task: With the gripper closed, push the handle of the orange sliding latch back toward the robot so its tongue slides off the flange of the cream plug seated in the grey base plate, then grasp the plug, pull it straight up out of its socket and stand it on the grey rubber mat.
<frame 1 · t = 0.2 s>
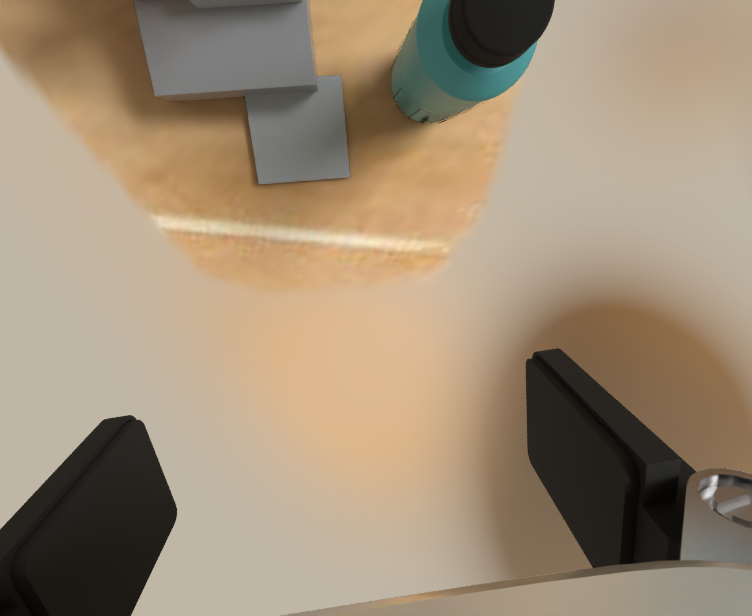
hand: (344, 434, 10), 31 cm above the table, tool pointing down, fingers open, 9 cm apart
beverage bottle: (425, 84, 36), on the table
mat: (299, 131, 36), on the table
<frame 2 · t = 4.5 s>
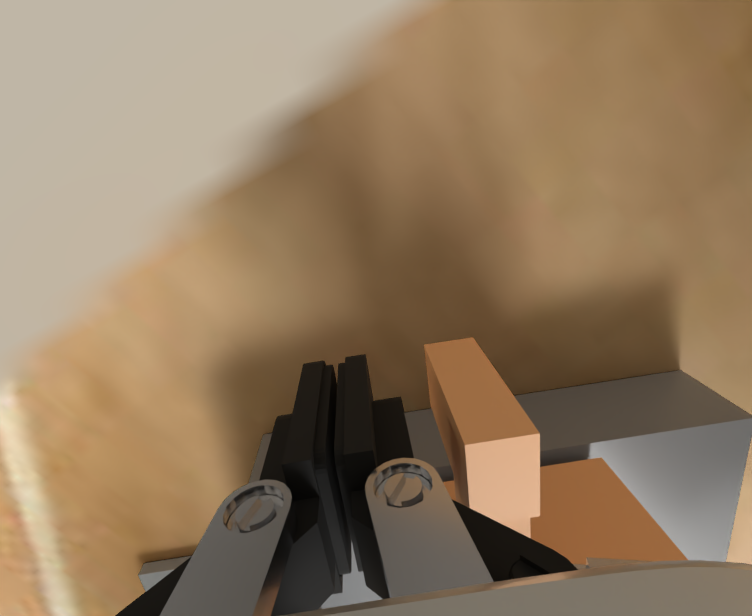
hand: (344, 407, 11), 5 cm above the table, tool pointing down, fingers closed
grey base plate: (480, 510, 20), on the table
mat: (249, 608, 21), on the table
latch: (547, 533, 12), point 6 cm above the table, slide at 0.3 cm, touching gripper
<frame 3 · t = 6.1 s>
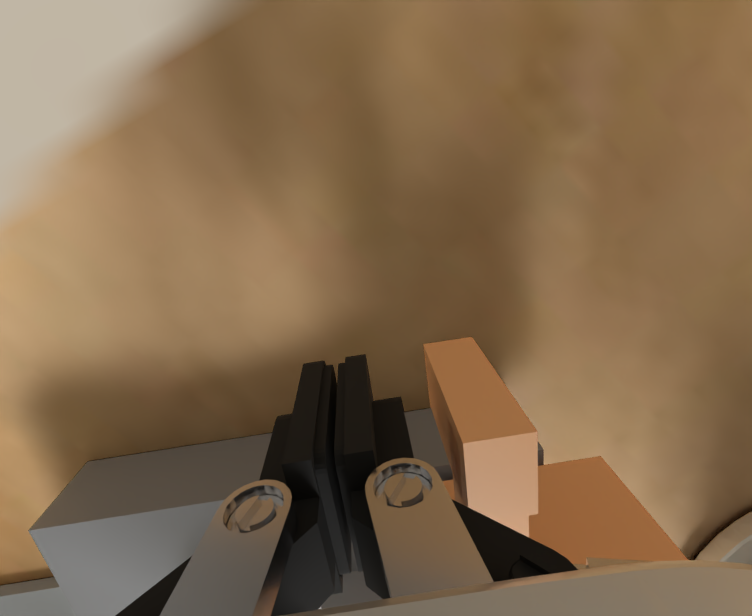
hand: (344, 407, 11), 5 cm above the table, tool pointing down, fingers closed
grey base plate: (324, 534, 20), on the table
latch: (546, 531, 12), point 6 cm above the table, slide at 7.8 cm, touching gripper
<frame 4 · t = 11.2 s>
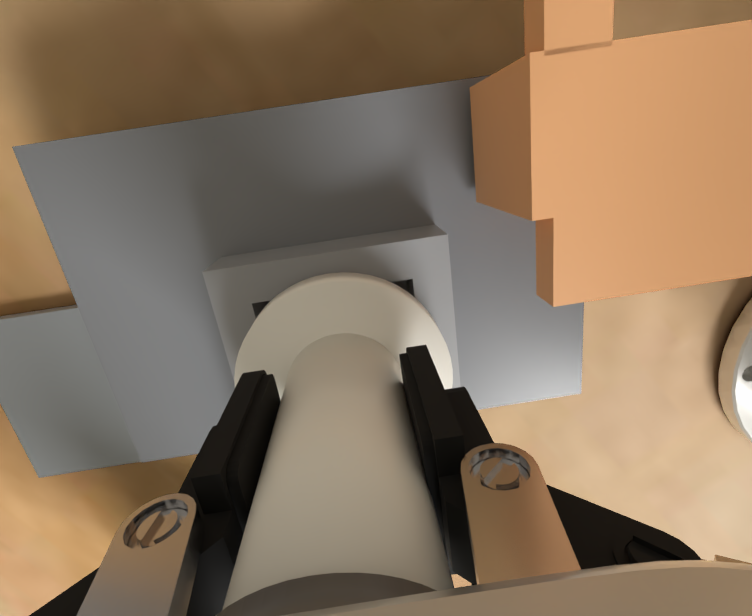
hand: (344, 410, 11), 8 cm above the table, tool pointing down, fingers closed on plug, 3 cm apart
grey base plate: (339, 264, 18), on the table
plug: (346, 338, 16), point 3 cm above the table, touching gripper, grey base plate
mat: (98, 386, 20), on the table
latch: (616, 56, 10), point 6 cm above the table, slide at 8.1 cm
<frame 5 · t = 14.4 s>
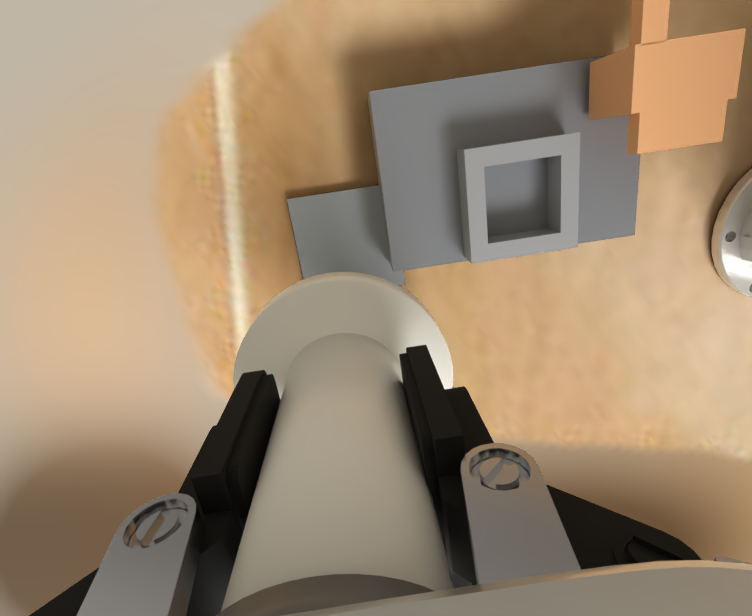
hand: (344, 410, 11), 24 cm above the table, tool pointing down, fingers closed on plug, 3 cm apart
grey base plate: (495, 167, 32), on the table
plug: (346, 338, 16), point 19 cm above the table, touching gripper
mat: (348, 242, 33), on the table
latch: (664, 46, 24), point 6 cm above the table, slide at 8.1 cm
when the fingers open (6 cm above the table, at t = 17.7 s): plug drops 1 cm, resting on mat, grey base plate.
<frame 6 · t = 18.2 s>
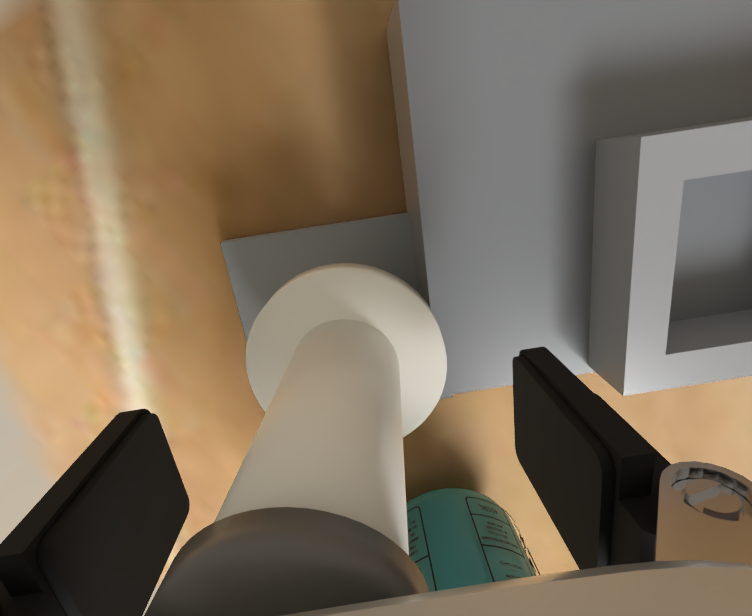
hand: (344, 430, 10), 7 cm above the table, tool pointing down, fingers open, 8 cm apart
grey base plate: (639, 176, 16), on the table
plug: (354, 325, 17), point 1 cm above the table, tilted 5°, touching mat, grey base plate
beverage bottle: (440, 509, 21), on the table
mat: (346, 320, 17), on the table
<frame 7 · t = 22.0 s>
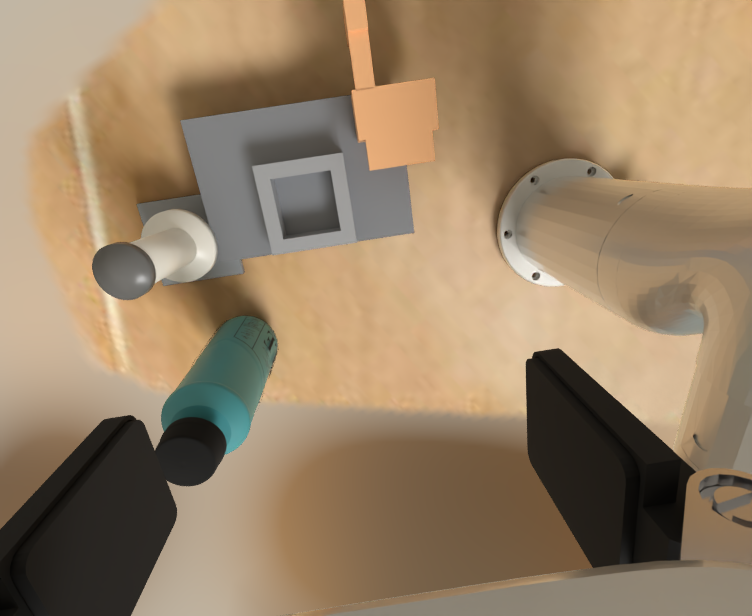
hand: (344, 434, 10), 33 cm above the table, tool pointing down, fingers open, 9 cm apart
grey base plate: (307, 178, 40), on the table
plug: (194, 239, 40), point 1 cm above the table, tilted 5°, touching mat, grey base plate
beverage bottle: (252, 335, 45), on the table
mat: (193, 238, 41), on the table
latch: (390, 88, 32), point 6 cm above the table, slide at 8.1 cm
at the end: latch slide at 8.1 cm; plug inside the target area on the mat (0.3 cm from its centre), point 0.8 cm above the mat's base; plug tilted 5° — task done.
